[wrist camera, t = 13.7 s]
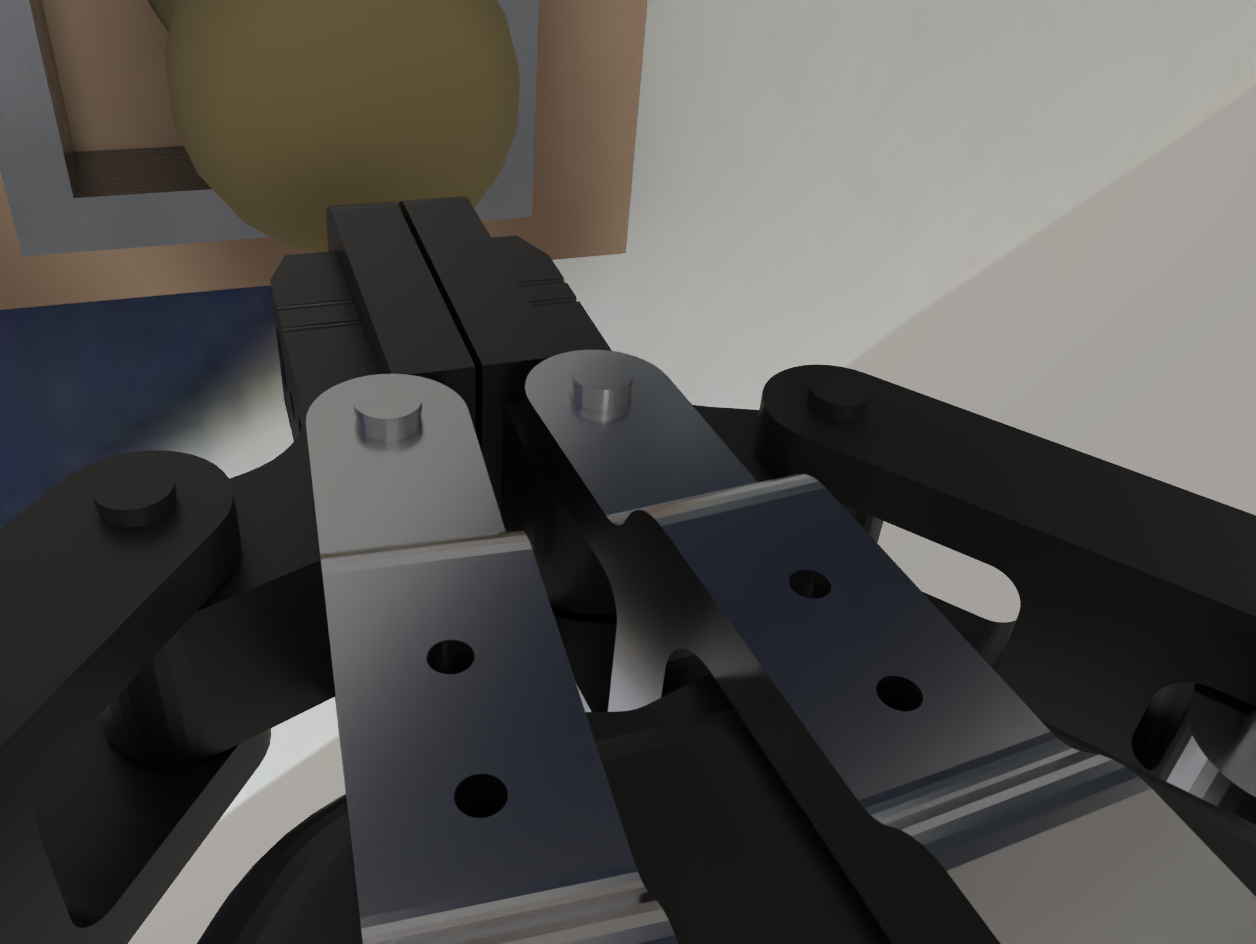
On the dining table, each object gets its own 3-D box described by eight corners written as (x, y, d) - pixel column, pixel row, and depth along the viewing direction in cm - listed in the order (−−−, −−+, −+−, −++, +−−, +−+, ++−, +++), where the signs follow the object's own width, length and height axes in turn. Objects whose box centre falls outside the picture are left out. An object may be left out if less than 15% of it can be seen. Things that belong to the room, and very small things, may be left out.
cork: (398, 100, 27) (527, 329, 19) (118, 59, 24) (130, 305, 16) (441, -185, 24) (617, -54, 16) (124, -266, 21) (142, -159, 13)
